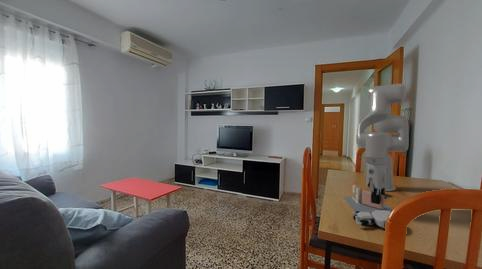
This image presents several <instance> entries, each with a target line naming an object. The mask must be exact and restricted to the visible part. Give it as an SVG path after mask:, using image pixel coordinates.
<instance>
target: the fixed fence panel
mask: <svg viewBox="0 0 482 269" xmlns="http://www.w3.org/2000/svg"><path fill="white" fill-rule="evenodd" d="M362 191H363V189H362V188H359V187H358V186H357V185H355V184H353V185H352V197H353V198H354V199H355V200H356V201H357V202H358V203H359V204H362Z"/></svg>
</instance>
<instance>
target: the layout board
mask: <svg viewBox="0 0 482 269" xmlns="http://www.w3.org/2000/svg"><path fill="white" fill-rule="evenodd" d="M344 198H345V199H344ZM344 198H343V199H344V200H345V202H347V203H348V205H349V204H350V205H349V207H351V208H352V210H354V212H356V211H360V212H370V213H371V214H372V212H373V211H375V210H386V211H388V210H391V211H392V210H393V208H391V207H389V206H388V205H387V204H386V203H384V209H379V208H376V207H372V206H369V205H365V204H359V203H358V202H357V201H356V200H355V199H354V198H353V196H352V197H351V196H350V197H349V196H347V197H346V196H344ZM391 211H390V212H391Z"/></svg>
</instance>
